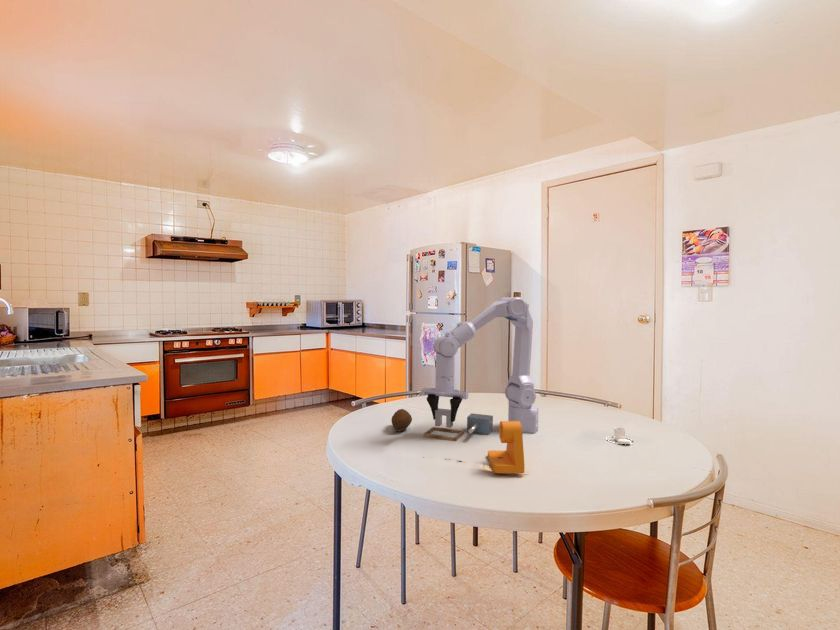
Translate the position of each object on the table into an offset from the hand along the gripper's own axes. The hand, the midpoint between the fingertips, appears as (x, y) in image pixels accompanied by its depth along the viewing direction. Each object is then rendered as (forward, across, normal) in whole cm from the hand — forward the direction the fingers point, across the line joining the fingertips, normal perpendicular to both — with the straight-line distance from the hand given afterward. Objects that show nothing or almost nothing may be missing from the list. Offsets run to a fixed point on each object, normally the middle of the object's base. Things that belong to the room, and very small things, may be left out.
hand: (444, 420), depth 134 cm
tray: (+6, 0, 0) cm, 6 cm away
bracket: (+6, +22, -16) cm, 28 cm away
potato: (+6, -16, +4) cm, 18 cm away
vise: (+6, +9, +4) cm, 12 cm away
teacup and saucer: (+6, +48, +19) cm, 52 cm away
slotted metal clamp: (+2, 0, 0) cm, 2 cm away
